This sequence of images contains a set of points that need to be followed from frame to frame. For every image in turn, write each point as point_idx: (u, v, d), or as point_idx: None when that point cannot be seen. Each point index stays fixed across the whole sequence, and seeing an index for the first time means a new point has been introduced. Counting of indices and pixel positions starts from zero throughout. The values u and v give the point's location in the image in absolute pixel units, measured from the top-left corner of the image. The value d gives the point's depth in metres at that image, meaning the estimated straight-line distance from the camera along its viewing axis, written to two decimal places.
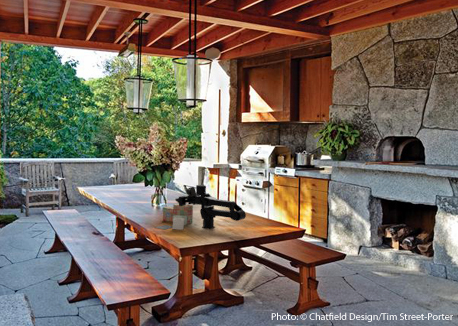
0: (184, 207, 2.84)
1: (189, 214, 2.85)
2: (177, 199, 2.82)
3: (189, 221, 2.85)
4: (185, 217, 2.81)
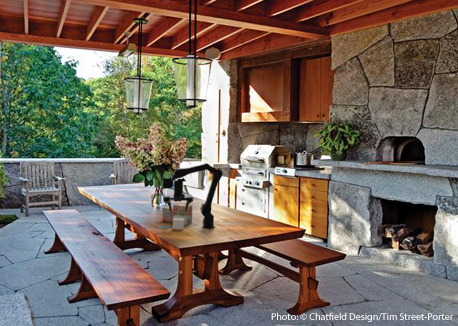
0: (184, 207, 2.84)
1: (189, 214, 2.85)
2: None
3: (189, 221, 2.85)
4: (185, 217, 2.81)
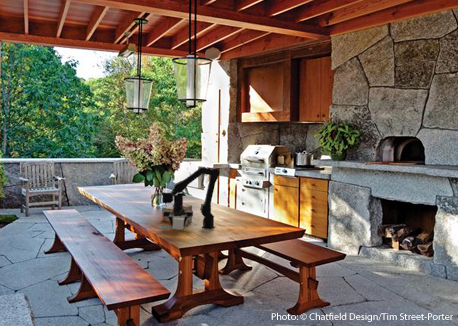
0: (183, 207, 2.84)
1: None
2: (185, 222, 2.70)
3: (188, 221, 2.85)
4: None
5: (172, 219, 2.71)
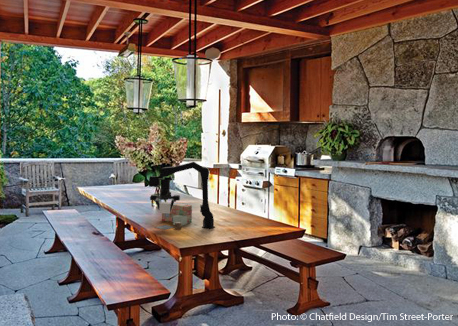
0: (183, 207, 2.84)
1: (188, 214, 2.85)
2: None
3: (188, 221, 2.85)
4: (185, 217, 2.81)
5: (159, 203, 2.71)
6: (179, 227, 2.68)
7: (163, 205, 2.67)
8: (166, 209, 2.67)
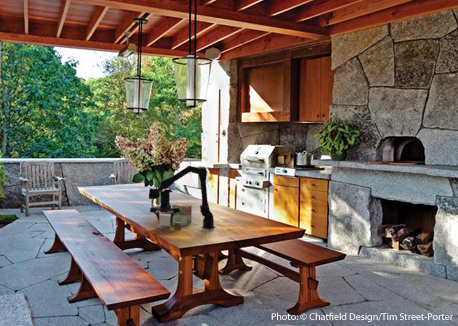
0: (183, 207, 2.84)
1: (188, 214, 2.85)
2: None
3: (188, 221, 2.85)
4: (185, 217, 2.81)
5: (159, 215, 2.72)
6: (179, 227, 2.68)
7: (163, 217, 2.68)
8: (166, 221, 2.68)
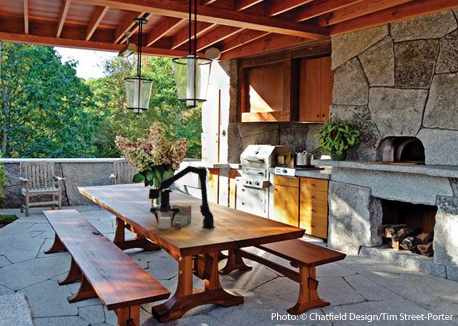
0: (183, 207, 2.84)
1: (188, 214, 2.85)
2: (173, 218, 2.71)
3: (188, 221, 2.85)
4: (185, 217, 2.81)
5: (157, 215, 2.72)
6: (179, 227, 2.68)
7: (163, 220, 2.68)
8: (166, 224, 2.68)
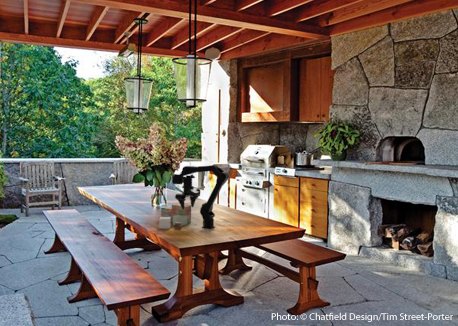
0: None
1: (188, 214, 2.85)
2: (193, 202, 2.82)
3: (188, 221, 2.86)
4: (185, 217, 2.81)
5: None
6: (179, 227, 2.68)
7: (163, 220, 2.68)
8: (166, 224, 2.68)
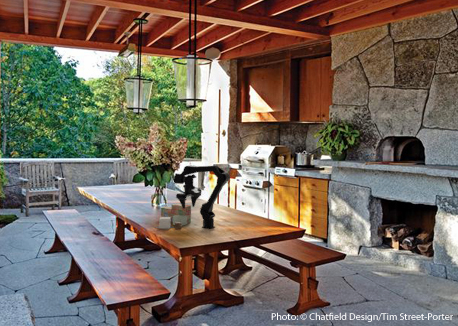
0: (182, 207, 2.84)
1: (188, 214, 2.85)
2: (194, 202, 2.83)
3: (187, 221, 2.86)
4: (185, 217, 2.81)
5: None
6: (179, 227, 2.68)
7: (163, 220, 2.68)
8: (166, 224, 2.68)
